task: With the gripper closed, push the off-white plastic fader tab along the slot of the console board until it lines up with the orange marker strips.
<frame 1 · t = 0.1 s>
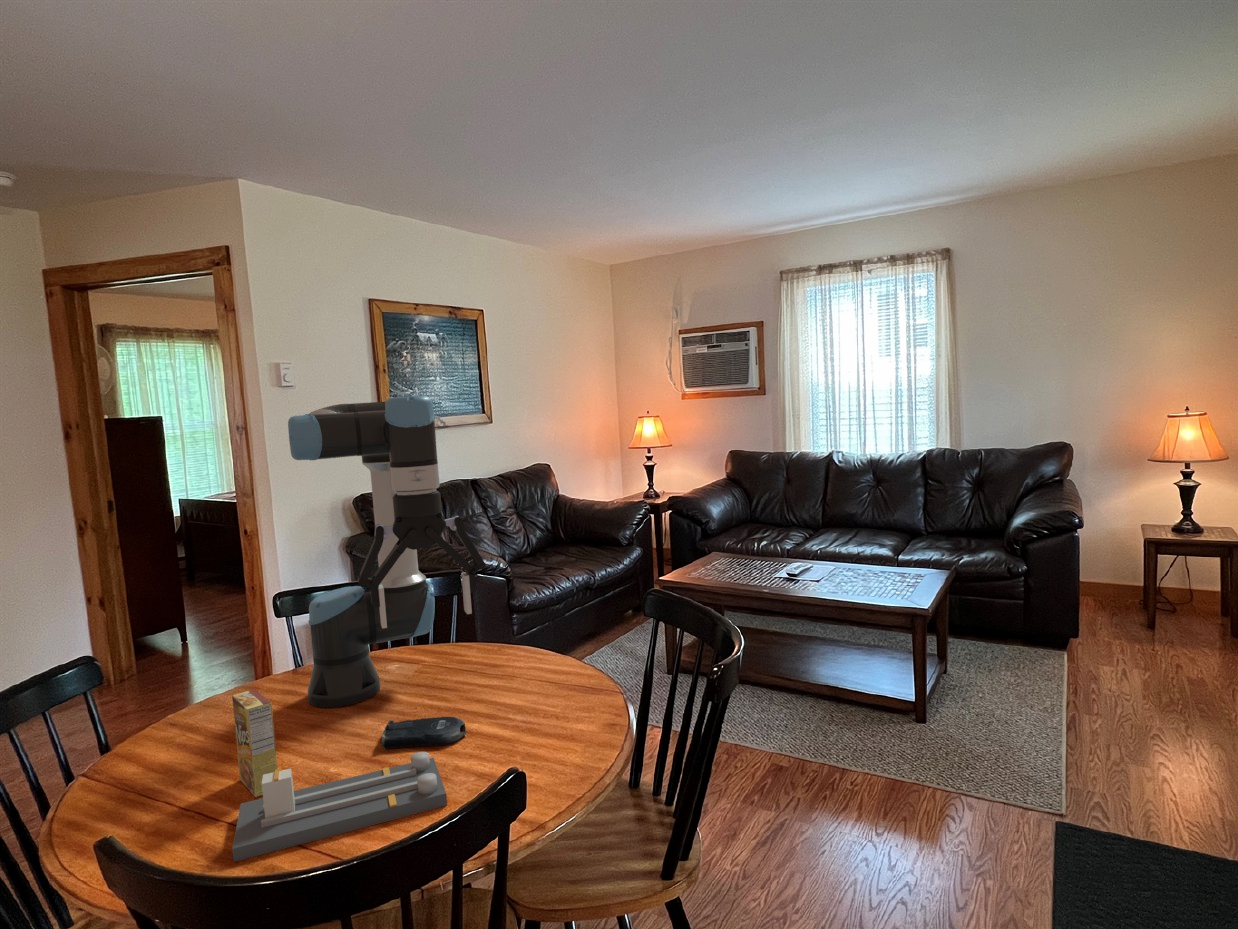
hand: (426, 619, 119), 28 cm above the table, fingers open, 13 cm apart
fader tab: (278, 793, 110), point 5 cm above the table, slide at 0.0 cm
electronic device: (426, 740, 138), on the table
console board: (344, 810, 114), on the table
candy box: (260, 785, 124), on the table
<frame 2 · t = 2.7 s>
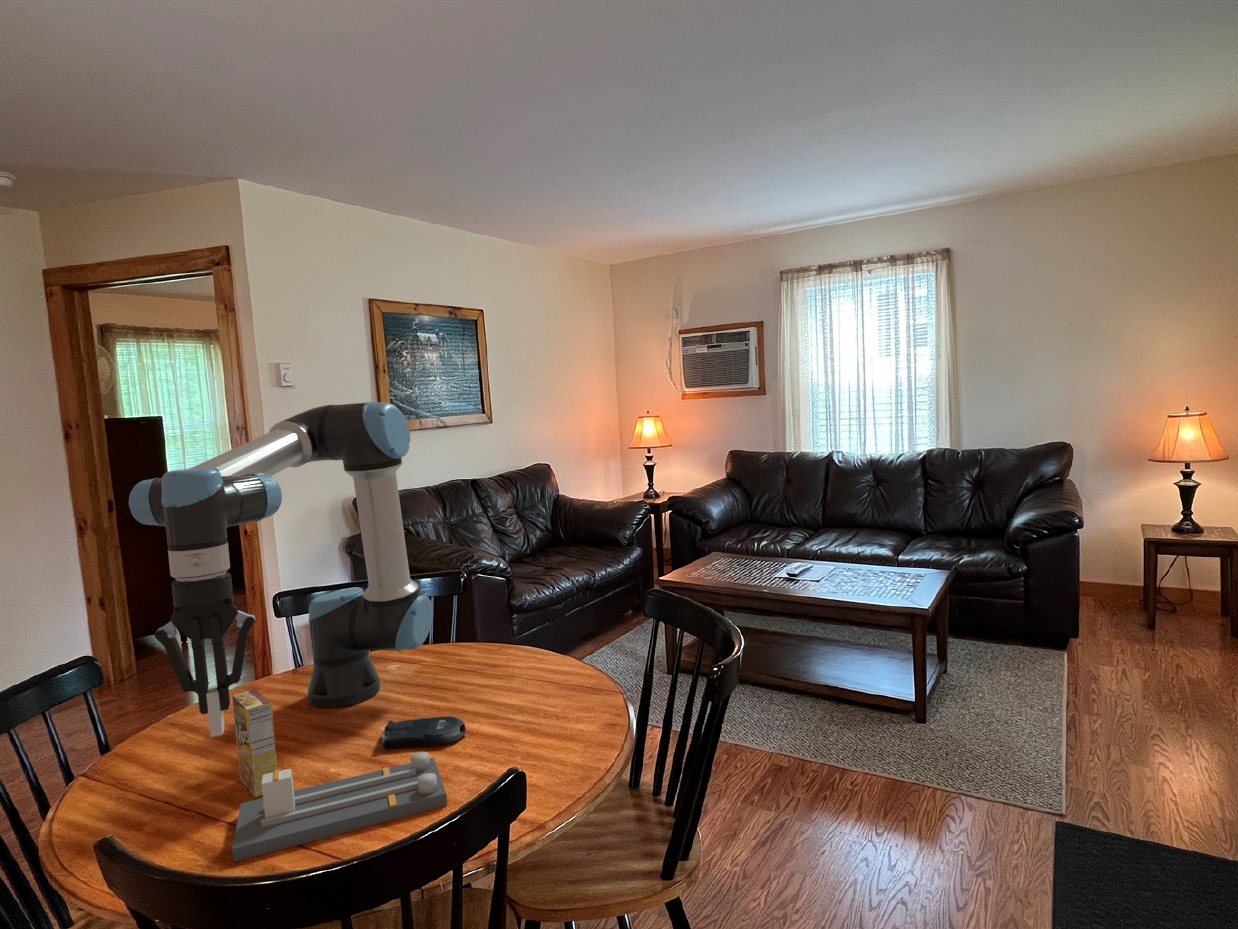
hand: (217, 732, 106), 17 cm above the table, fingers closed
nothing on the table moved.
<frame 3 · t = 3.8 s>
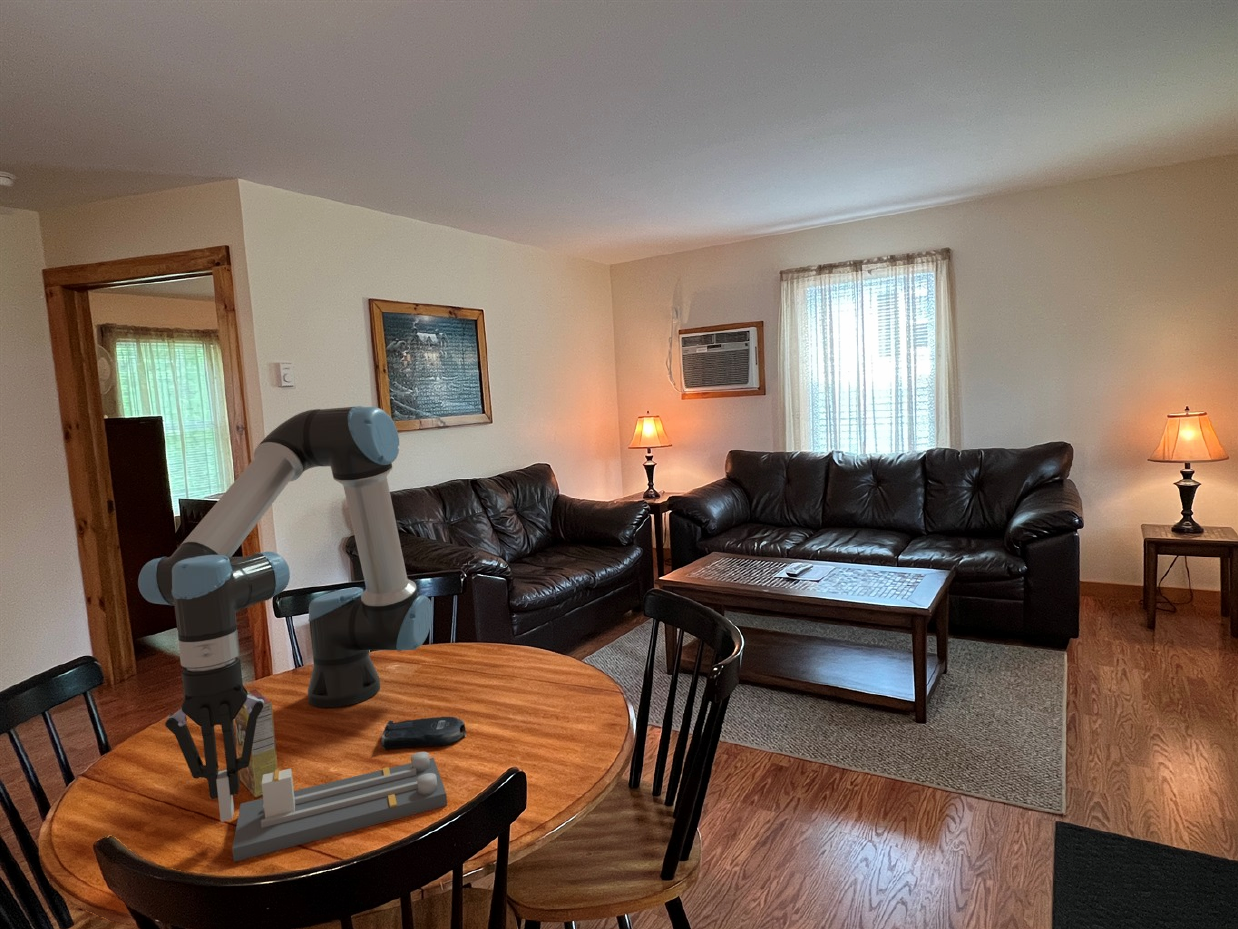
hand: (227, 816, 108), 4 cm above the table, fingers closed
nothing on the table moved.
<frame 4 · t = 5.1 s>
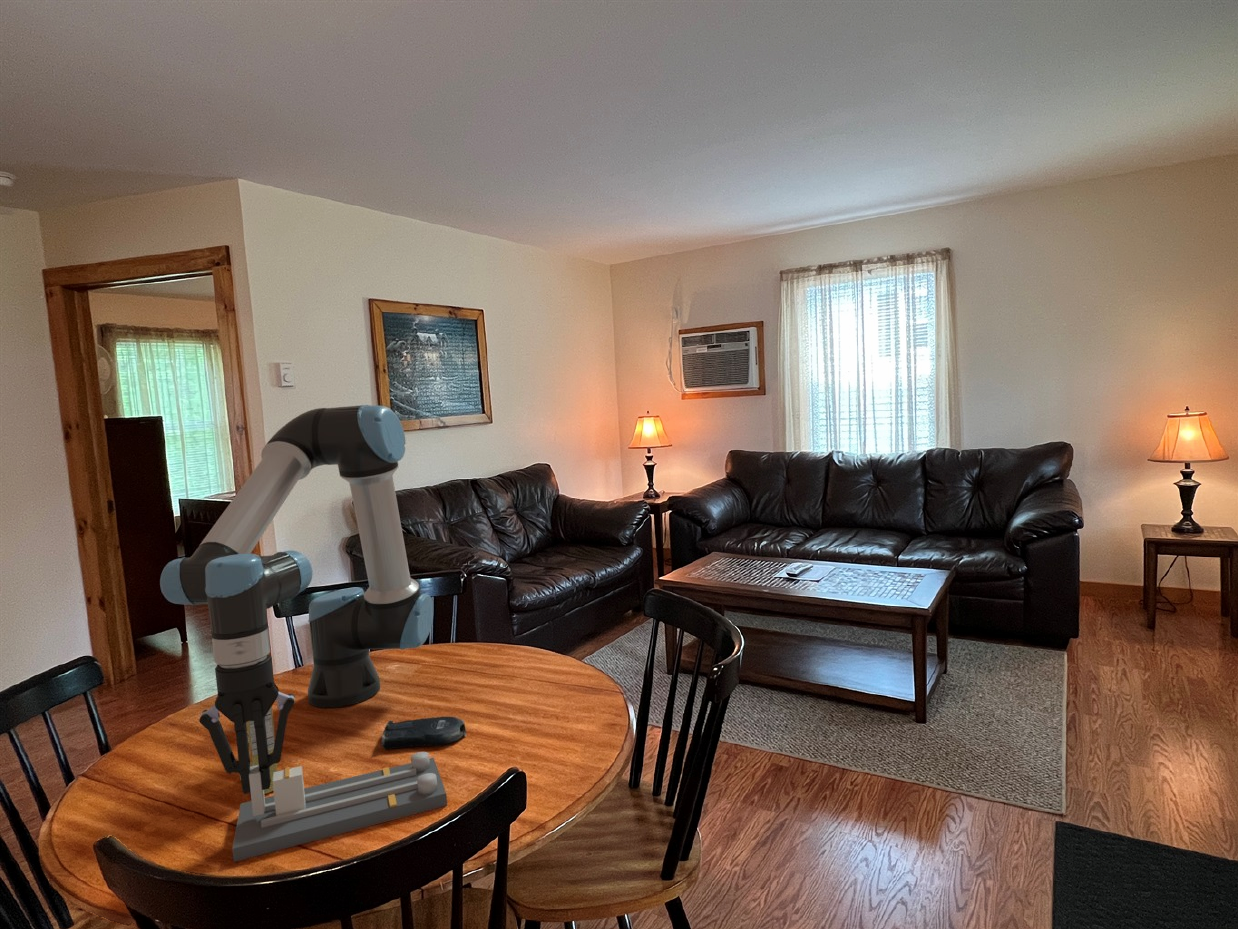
hand: (259, 810, 109), 3 cm above the table, fingers closed
fader tab: (289, 791, 111), point 5 cm above the table, slide at 1.5 cm, touching gripper
everything else where it was.
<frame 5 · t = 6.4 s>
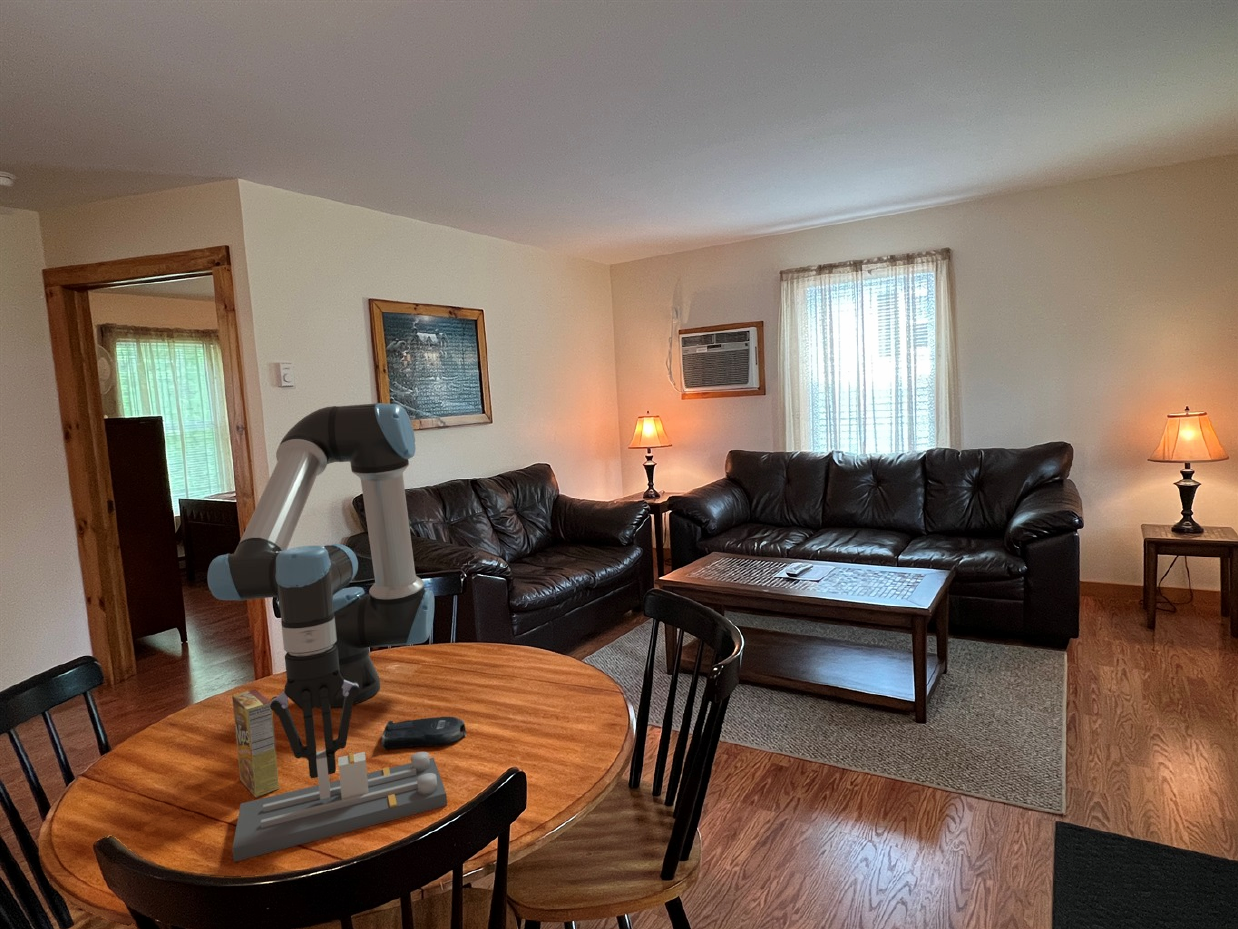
hand: (325, 794, 113), 3 cm above the table, fingers closed
fader tab: (353, 776, 114), point 5 cm above the table, slide at 10.8 cm, touching gripper
everything else where it was.
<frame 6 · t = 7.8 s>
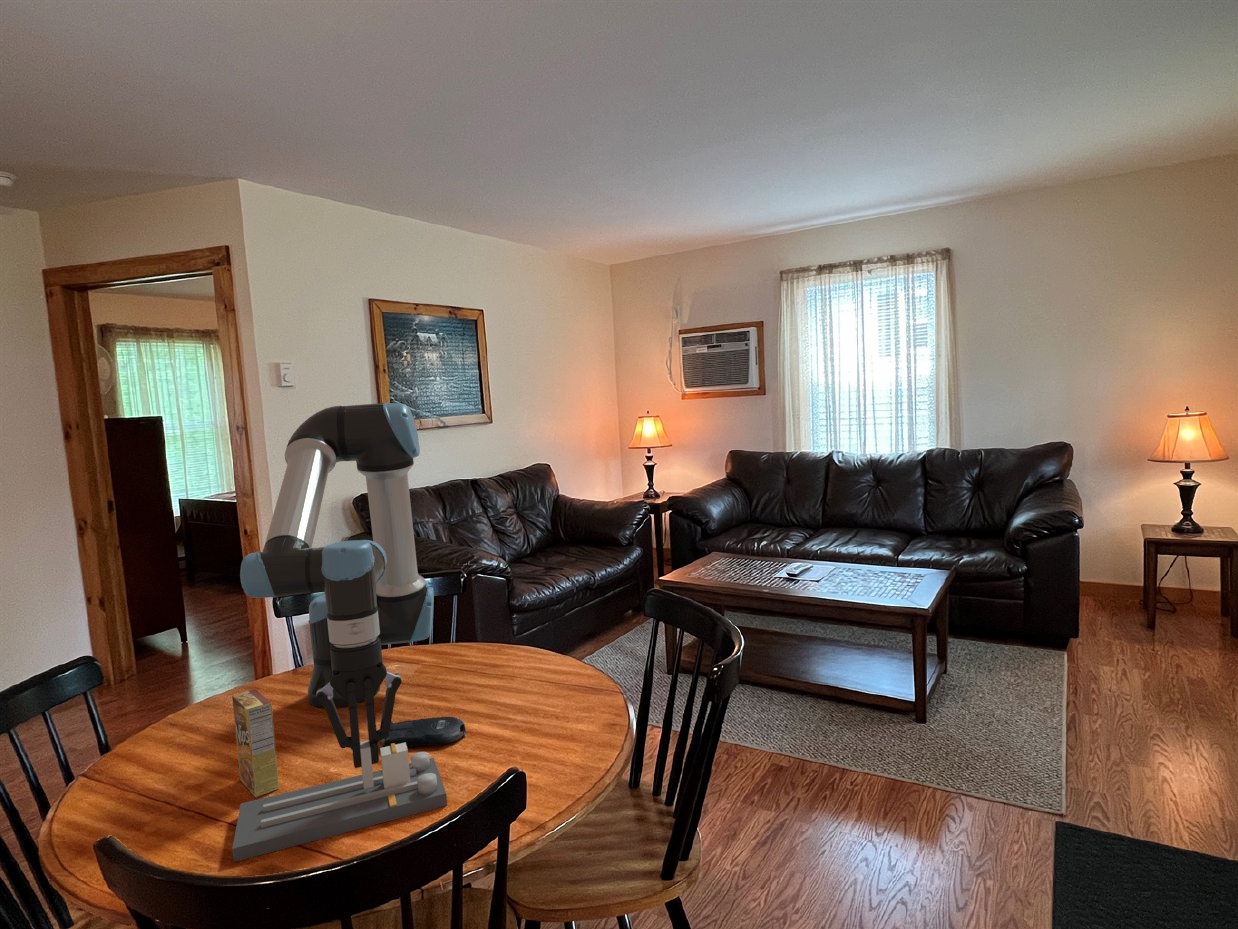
hand: (368, 783, 115), 3 cm above the table, fingers closed
fader tab: (395, 766, 117), point 5 cm above the table, slide at 17.2 cm, touching gripper
everything else where it was.
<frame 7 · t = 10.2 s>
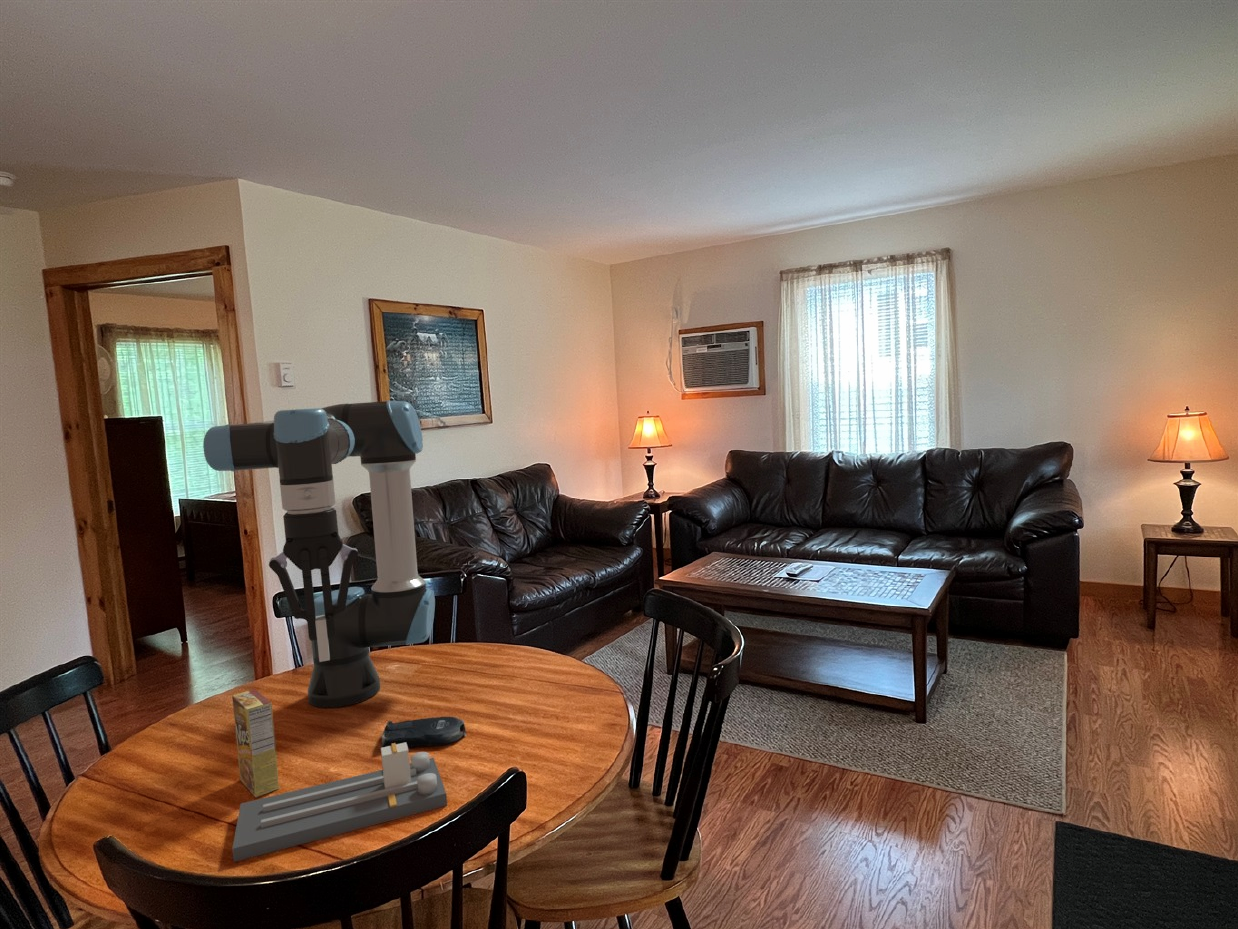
hand: (324, 658, 113), 25 cm above the table, fingers closed
fader tab: (396, 765, 117), point 5 cm above the table, slide at 17.3 cm
everything else where it was.
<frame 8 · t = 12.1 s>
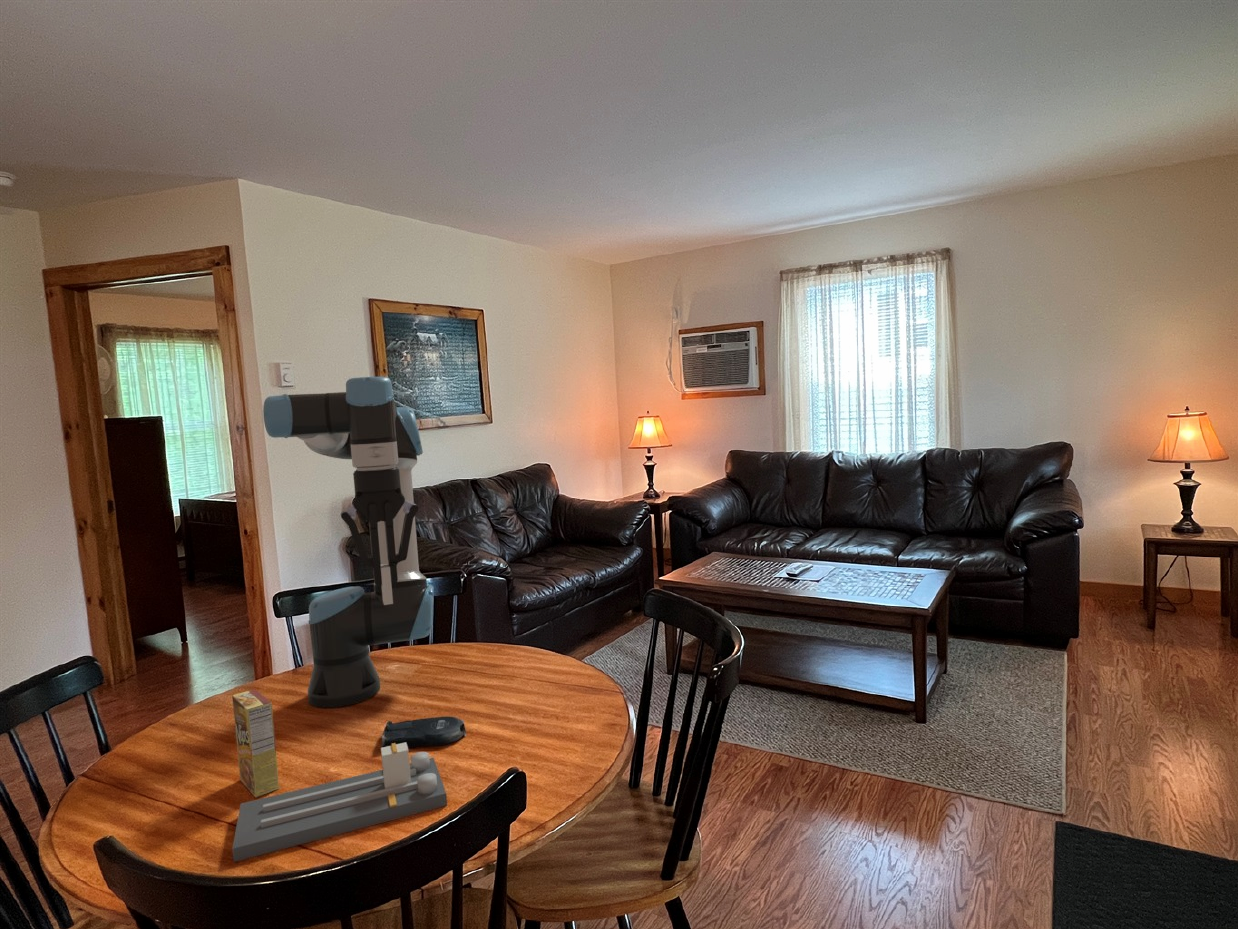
hand: (387, 602, 125), 29 cm above the table, fingers closed
nothing on the table moved.
at the end: fader tab slide at 17.3 cm; fader tab touching nothing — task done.
